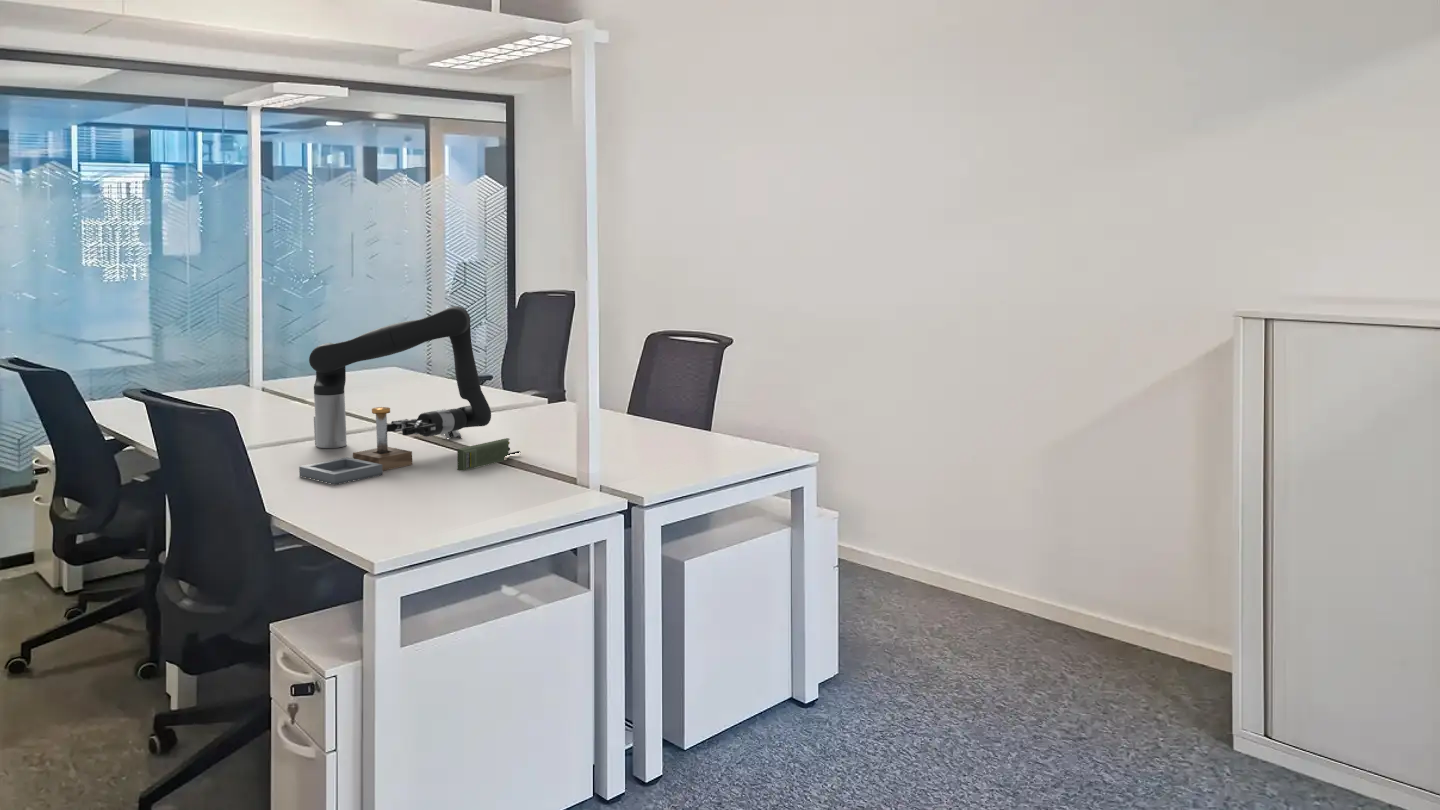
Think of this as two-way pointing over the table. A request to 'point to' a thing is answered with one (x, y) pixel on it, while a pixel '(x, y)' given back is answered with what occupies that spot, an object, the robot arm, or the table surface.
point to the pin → (381, 428)
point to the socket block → (386, 457)
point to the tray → (341, 470)
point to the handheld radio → (482, 454)
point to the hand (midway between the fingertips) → (393, 430)
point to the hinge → (452, 433)
